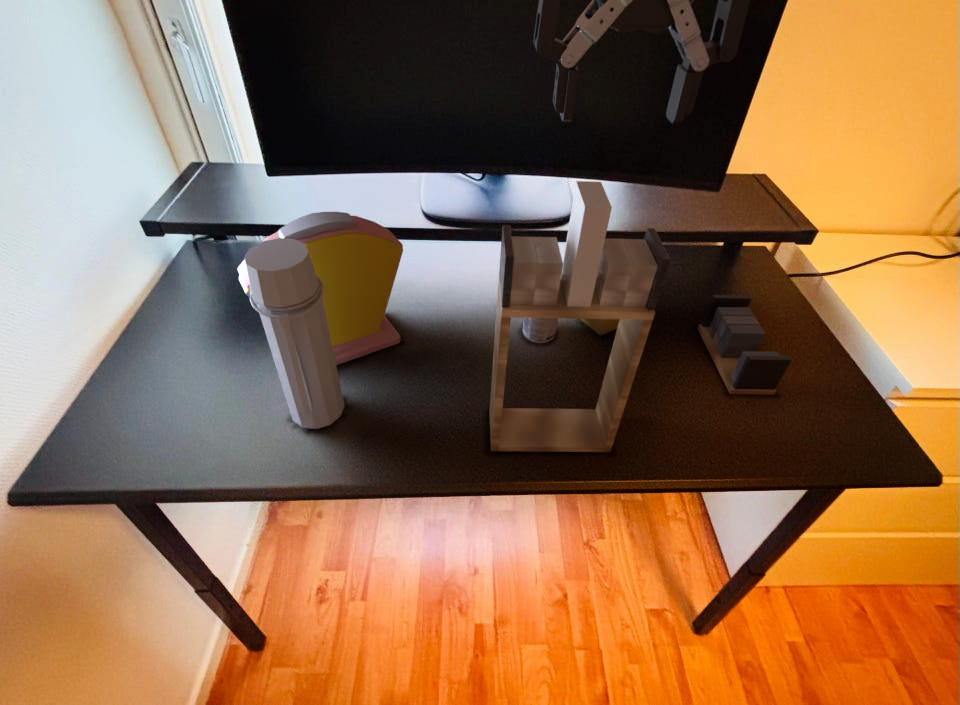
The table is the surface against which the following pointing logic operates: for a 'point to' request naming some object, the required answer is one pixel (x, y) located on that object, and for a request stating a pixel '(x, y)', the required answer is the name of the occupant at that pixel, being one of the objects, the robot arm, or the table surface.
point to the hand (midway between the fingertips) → (619, 119)
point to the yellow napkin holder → (348, 277)
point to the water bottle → (296, 329)
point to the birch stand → (566, 425)
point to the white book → (584, 242)
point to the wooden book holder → (618, 289)
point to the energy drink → (540, 329)
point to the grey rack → (740, 347)
